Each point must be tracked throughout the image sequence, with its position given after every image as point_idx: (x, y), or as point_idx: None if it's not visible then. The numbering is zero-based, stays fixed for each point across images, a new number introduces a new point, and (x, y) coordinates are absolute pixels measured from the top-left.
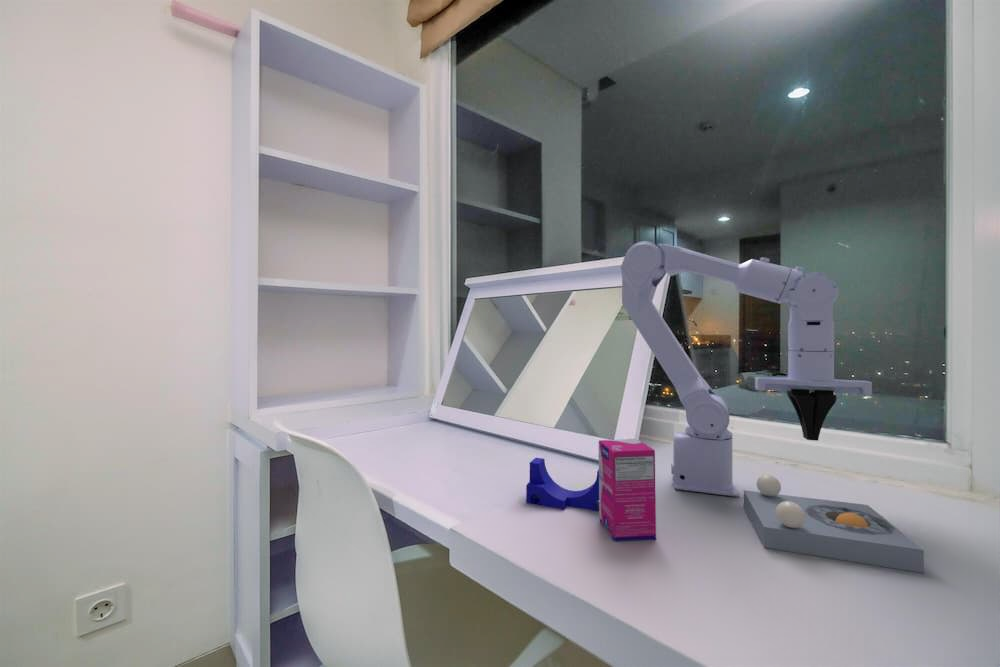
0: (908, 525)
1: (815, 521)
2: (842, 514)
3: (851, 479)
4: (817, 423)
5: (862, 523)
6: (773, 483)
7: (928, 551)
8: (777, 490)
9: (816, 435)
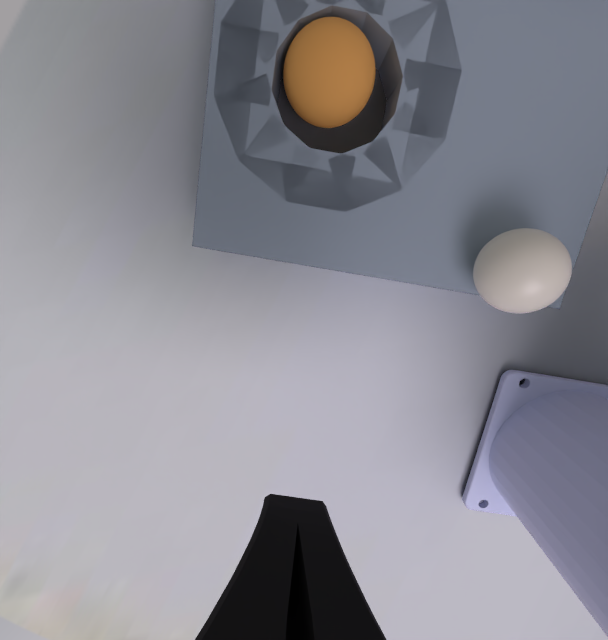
0: (98, 253)
1: (468, 26)
2: (359, 66)
3: (74, 589)
4: (270, 594)
5: (318, 22)
6: (534, 235)
7: (145, 64)
8: (504, 232)
9: (277, 515)
